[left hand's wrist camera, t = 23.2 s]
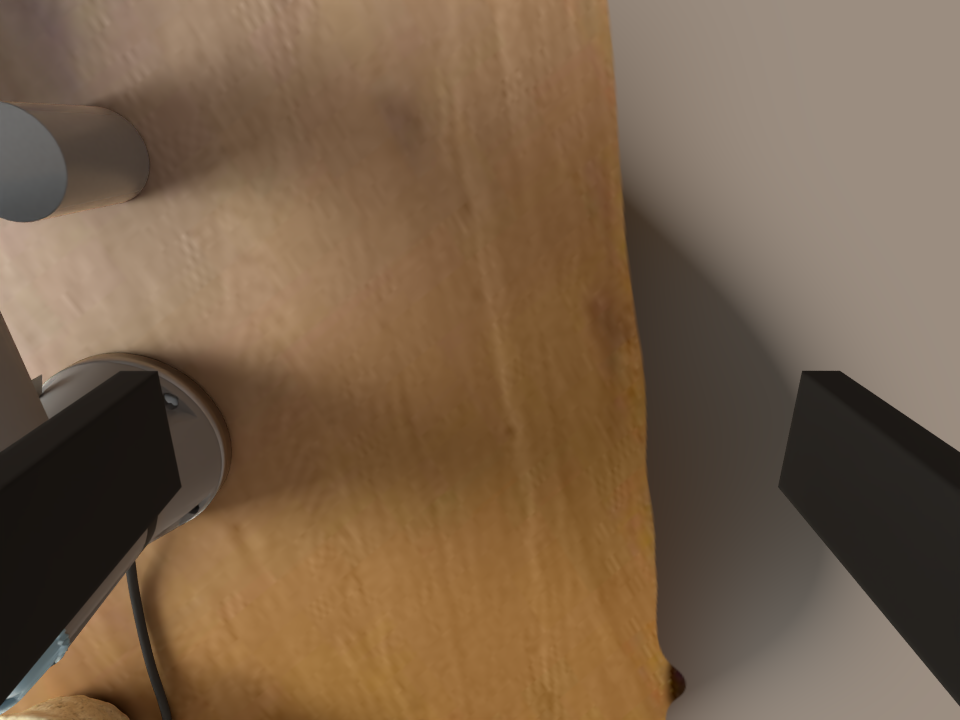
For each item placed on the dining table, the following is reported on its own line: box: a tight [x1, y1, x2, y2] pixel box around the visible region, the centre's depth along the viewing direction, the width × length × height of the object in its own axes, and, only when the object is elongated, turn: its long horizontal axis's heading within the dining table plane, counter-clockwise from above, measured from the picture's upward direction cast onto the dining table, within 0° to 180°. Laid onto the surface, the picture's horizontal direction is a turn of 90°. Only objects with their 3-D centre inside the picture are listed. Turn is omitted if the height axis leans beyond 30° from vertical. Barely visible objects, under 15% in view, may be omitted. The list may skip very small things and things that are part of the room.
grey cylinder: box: [0, 101, 150, 223], centre depth 37 cm, size 6×6×9 cm
